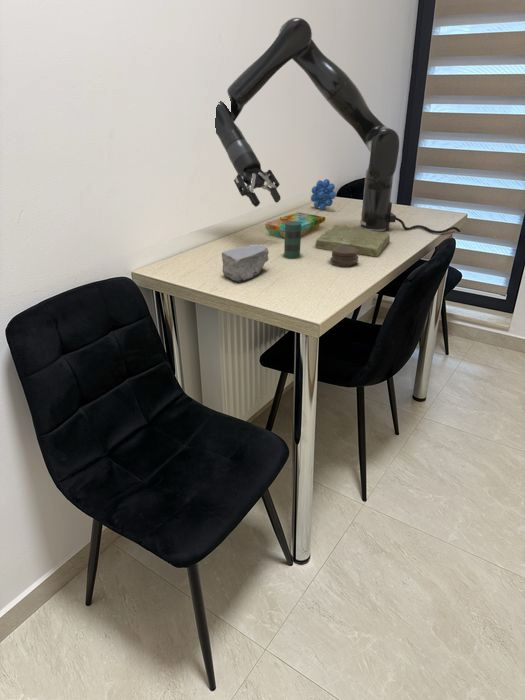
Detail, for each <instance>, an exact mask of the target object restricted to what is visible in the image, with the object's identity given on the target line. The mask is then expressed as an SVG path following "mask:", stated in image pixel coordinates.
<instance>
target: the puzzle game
mask: <svg viewBox="0 0 525 700" xmlns="http://www.w3.org/2000/svg"><path fill="white" fill-rule="evenodd" d="M326 219H327V218H326V217H325V216H322V215H316V214H312V213H311V214H310V213H305V212H300V211H296V212H293V213H290V214H287V215H284V216H281V217H279V218H275V219H273V220H270V221H267V222H266V223H264V226H265V227H264V228H265V229H266V230H267V232H268V233H269V235H270V236H275V237H278V238H284V239H285V222H288V221H298V222H301V237H302V236H303V235H306V234H308V233H311V232H314V231H316V230H317V229H318V228H319V226H320V224H322V223H325V221H326Z"/></svg>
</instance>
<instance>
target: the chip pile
mask: <svg viewBox="0 0 525 700" xmlns="http://www.w3.org/2000/svg"><path fill="white" fill-rule="evenodd" d="M331 251H332V252H331V257H330V260H329V263H330V264H331V265H333V266H335V267H340V268H341V267H342V268H346V267H353V266H354V265H355V264H356V263H358V262H359V256H358V250H357V249H356V248H354V247H350V246H337V247H334V248H333V250H331Z"/></svg>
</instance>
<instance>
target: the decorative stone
mask: <svg viewBox="0 0 525 700" xmlns="http://www.w3.org/2000/svg"><path fill="white" fill-rule="evenodd" d="M221 260H222V269H221V270H222V273H223V276H224V277H226V278H228V279H229V280H231V281H233V282H236V283H242V282H247V281H249V280H251V279H253V278H255V277H257V276H259V275H260V274H261V272H262V270H263V268H264V265H266V263H267V262H268V261H269V250H268V247H267V246H265V245H260V244H250V245H248V246H238V247H236V248H232V249H231V248H230V249H226V250H224V251H222V252H221Z"/></svg>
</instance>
